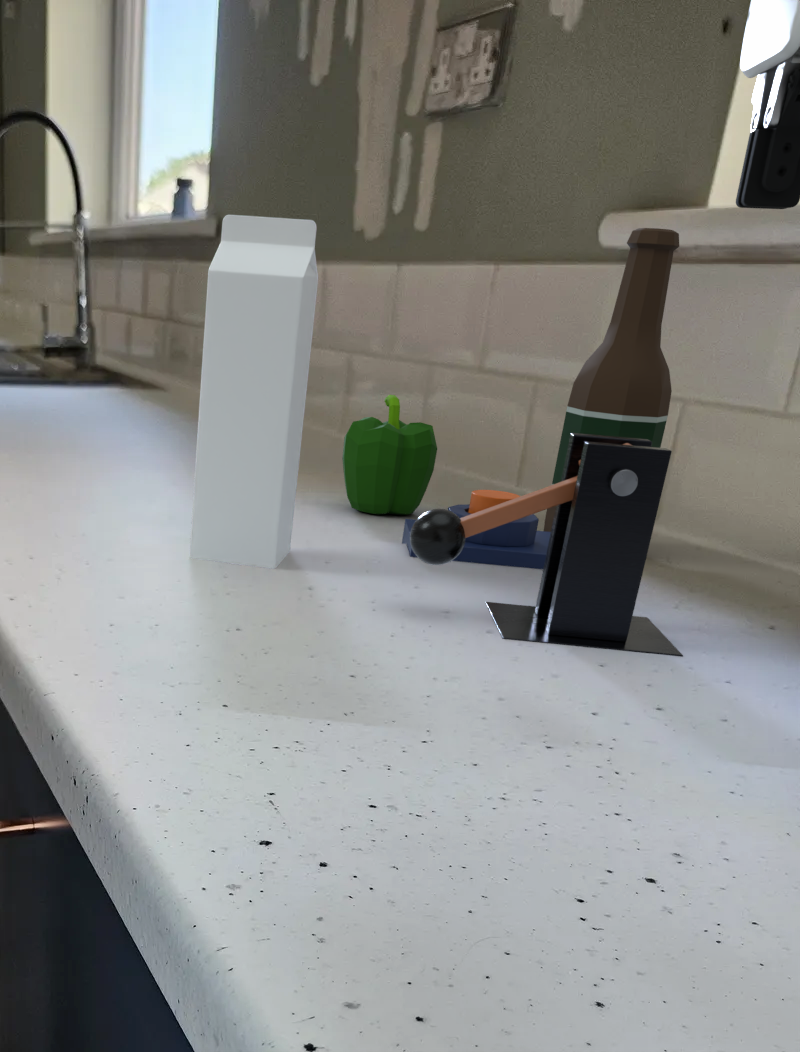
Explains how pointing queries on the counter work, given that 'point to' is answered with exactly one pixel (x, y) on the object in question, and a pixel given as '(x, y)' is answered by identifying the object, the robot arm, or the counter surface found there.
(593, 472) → the bracket
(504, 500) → the button
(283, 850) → the counter surface
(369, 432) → the bell pepper
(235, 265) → the milk
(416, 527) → the lever
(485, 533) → the control block
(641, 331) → the beer bottle
